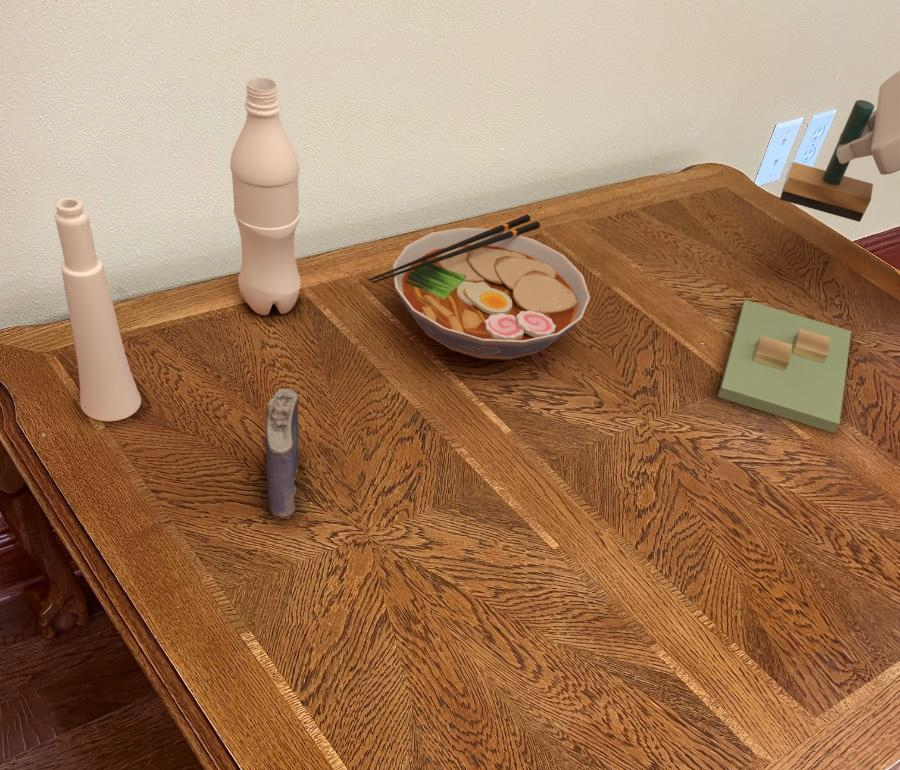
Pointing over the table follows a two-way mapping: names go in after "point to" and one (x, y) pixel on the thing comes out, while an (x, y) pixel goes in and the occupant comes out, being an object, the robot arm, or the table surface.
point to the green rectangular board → (802, 383)
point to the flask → (282, 452)
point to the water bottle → (266, 203)
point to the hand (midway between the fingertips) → (839, 149)
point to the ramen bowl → (489, 290)
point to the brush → (833, 177)
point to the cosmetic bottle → (93, 321)
